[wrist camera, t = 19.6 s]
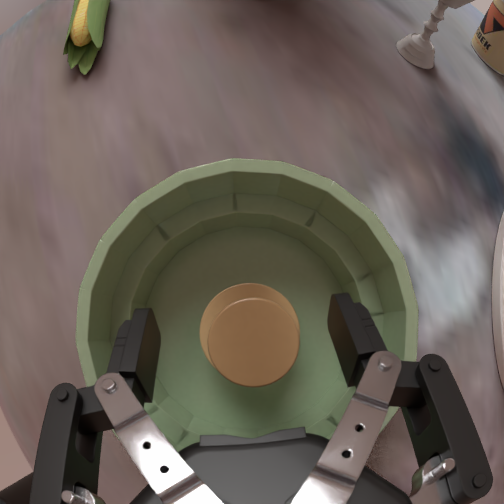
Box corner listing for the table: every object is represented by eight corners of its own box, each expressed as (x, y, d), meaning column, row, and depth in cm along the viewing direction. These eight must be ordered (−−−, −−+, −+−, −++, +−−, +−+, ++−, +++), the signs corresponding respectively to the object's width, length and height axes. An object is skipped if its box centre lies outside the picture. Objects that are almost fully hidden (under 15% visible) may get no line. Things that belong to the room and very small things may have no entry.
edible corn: (115, -9, 29) (108, -31, 25) (109, 69, 25) (95, 39, 21) (83, 3, 29) (74, -18, 25) (65, 86, 25) (48, 59, 21)
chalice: (377, 32, 28) (424, -86, 10) (419, 36, 28) (470, -65, 11) (410, 75, 26) (481, -50, 8) (450, 76, 27) (521, -26, 9)
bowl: (160, 467, 18) (134, 510, 12) (103, 238, 22) (59, 209, 15) (393, 405, 19) (440, 429, 13) (330, 181, 23) (357, 135, 17)
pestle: (218, 382, 19) (190, 444, 8) (196, 299, 20) (144, 276, 10) (301, 360, 20) (361, 399, 9) (279, 278, 21) (316, 232, 10)
